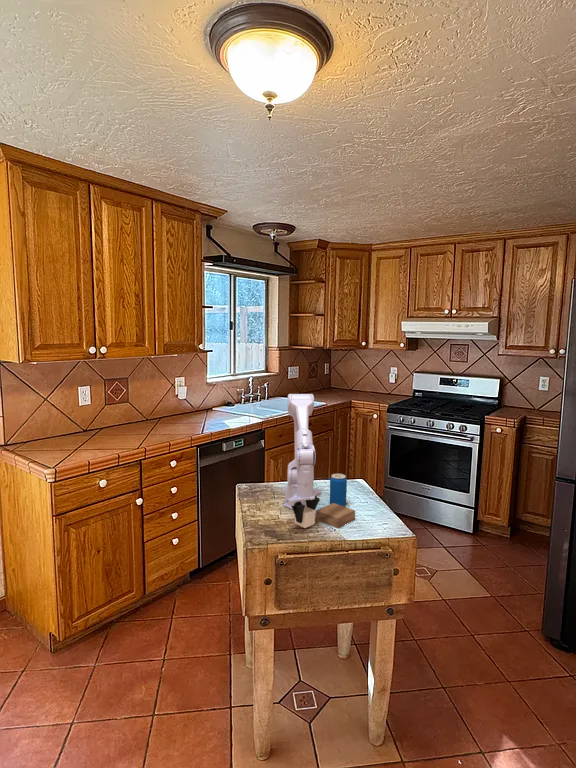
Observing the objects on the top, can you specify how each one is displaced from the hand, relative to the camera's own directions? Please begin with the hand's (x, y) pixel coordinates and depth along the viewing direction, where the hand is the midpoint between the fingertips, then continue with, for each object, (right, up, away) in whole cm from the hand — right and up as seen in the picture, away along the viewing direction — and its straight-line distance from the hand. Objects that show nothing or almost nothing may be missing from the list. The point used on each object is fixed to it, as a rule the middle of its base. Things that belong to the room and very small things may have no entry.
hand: (304, 519), depth 158 cm
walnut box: (+11, -2, +6) cm, 13 cm away
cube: (0, -1, 0) cm, 2 cm away
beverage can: (+14, 0, +19) cm, 23 cm away
